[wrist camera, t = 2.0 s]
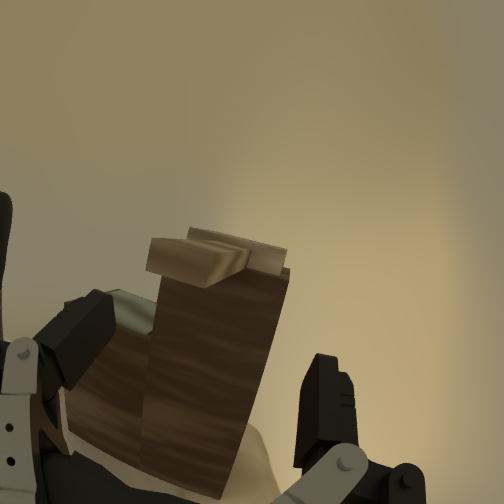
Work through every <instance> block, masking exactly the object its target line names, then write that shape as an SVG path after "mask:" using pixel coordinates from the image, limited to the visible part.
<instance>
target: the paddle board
mask: <svg viewBox="0 0 504 504" xmlns="http://www.w3.org/2000/svg"><path fill="white" fill-rule="evenodd" d="M286 252H287V249H284V248H280V247H276V246H272V245H268V244H264V243H260V242H256V241H252V240H248V239H244V238H240V237H235V236H231V235H227V234H223V233H219V232H215V231H209V230H204V229H198V228H192V227H190V228H189V231H188V235H187V239H185V240H184V239H165V238H152V240H151V244H150V249H149V254H148V259H147V264H146V271H149V272H152V273H155V274H159V275H162V276H165V277H168V278H171V279H175V280H178V281H181V282H184V283H188V284H191V285H194V286H198V287H201V288H206V287H208V286H211V285H213V284H215V283H217V282H219V281H221V280H223V279H225V278H227V277H229V276H231V275H233V274H235V273H237V272H239V271H241V270H243V269H245V268H250V269H254V270H258V271H262V272H266V273H270V274H273V275H277V276H280V273H281V271H282V269H283V265H284V261H285V257H286Z"/></svg>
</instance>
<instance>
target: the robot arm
mask: <svg viewBox="0 0 504 504" xmlns="http://www.w3.org/2000/svg"><path fill="white" fill-rule="evenodd" d="M12 211H13V208H12V201H11V198H10V196H9V195H8V194H6V193H4V192H1V191H0V504H199V503H196V502H192V501H189V500H186V499H182V498H179V497H176V496H173V495H170V494H167V493H160V492H153V491H147V490H141V489H136V488H131V487H129V486H128V485H126V484H125V483H123V482H122V481H121V480H119V479H118V478H117V477H116V476H114V475H113V474H112V473H110V472H109V471H108V470H107V469H106V468H104V467H103V466H102V465H100V464H98V463H96V462H94V461H92V460H91V459H89V458H87V457H85V456H83V455H82V454H80V453H78V452H77V451H74V453H73V454H72V456H71V455H69V450H68V447H67V444H66V442H65V439H64V437H63V432H62V424H61V414H60V401H59V392H58V390H59V389H60V387H61V386H62V387H64V388H65V389H67V390H69V391H71V390H72V389H73V388H74V386H75V385H76V384H77V382H78V381H79V380H80V378H81V377H82V376H83V374H84V373H85V372H86V371H87V369H88V368H89V367H90V365H91V364H92V363H93V361H94V360H95V359H96V358H97V356H98V355H99V354H100V353H101V351H102V350H103V349H104V347H105V346H106V345H107V344H108V342H109V341H110V340H111V339H112V337H113V336H114V333H115V330H116V318H115V310H114V301H113V297H112V295H111V294H108V293H105V292H102V291H100V290H97V289H94V290H92V291H91V292H90V293H89V294H88V295H87V296H85V297H81V298H78V299H76V300H74V301H72V302H70V303H69V304H68V305H67V306H66V307H65V308H64V309H63V311H61V312H59V313H58V314H57V317H54V318H53V319H52V320H51V321H50V322H49V323H48V324H47V325H46V326H45V327H44V328H43V329H42V330H41V331H40V332H39V333H38V334H36V335H35V336H34V337H33V338H32V339H31V338H27V337H22V338H18V339H16V340H14V341H13V342H11V343H10V342H6V341H3V328H2V279H3V274H4V269H5V262H6V254H7V246H8V240H9V235H10V229H11V223H12ZM299 400H300V401H299V413H298V424H297V435H296V446H295V456H294V465H293V467H294V468H302V476H301V478H300V479H299V480H298V481H297V482H296V483H295V484H293V485H292V486H291V487H290V488H289V489H287V491H285V492H284V493H283V494H281V495H280V496H279V497H278V498H277V499H275V500H274V501H273V502H272V503H270V504H426V491H425V479H424V475H423V473H422V471H421V470H420V469H419V468H418V467H417V466H416V465H413V464H410V463H403V464H400V465H398V466H396V467H395V468H390V467H387V466H384V465H381V464H377V463H375V462H372V461H370V460H369V459H368V458H367V456H366V454H365V453H364V451H363V450H362V449H361V448H359V444H358V431H357V418H356V409H355V398H354V386H353V383H352V381H351V380H350V377H349V376H348V374H347V373H346V372H339V370H338V359H337V357H335V356H329V355H324V354H319V353H317V354H316V355H315V357H314V359H313V361H312V363H311V365H310V367H309V370H308V371H307V373H306V375H305V378H304V380H303V382H302V386H301V390H300V399H299Z"/></svg>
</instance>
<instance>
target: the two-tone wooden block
mask: <svg viewBox="0 0 504 504" xmlns="http://www.w3.org/2000/svg"><path fill="white" fill-rule="evenodd" d="M289 277H290V269H288V268H284V267H283V269H282V271H281V273H280V276H277V275H273V274H270V273H266V272H262V271H258V270H254V269H250V268H245V269H243V270H241V271H239V272H237V273H235V274H233V275H231V276H229V277H227V278H225V279H223V280H221V281H219V282H217V283H215V284H213V285H211V286H208V287H206V288H201V287H198V286H194V285H191V284H188V283H184V282H181V281H178V280H175V279H171V278H168V277H165V276H162V278H161V283H160V288H159V293H158V299H157V303H156V302H153V301H150V300H147V299H144V298H142V297H139V296H136V295H133V294H131V293H128V292H125V291H123V290H120V289H116V290H112V291H108V292H105V293H108V294H111V295H112V297H113V301H114V310H115V318H116V330H115V333H114V336H113V337H112V339H111V340H110V341H109V342H108V344H107V345H106V346H105V347H104V349H103V350H102V351H101V353H100V354H99V355H98V356H97V358H96V359H95V360H94V361H93V363H92V364H91V365H90V367H89V368H88V369H87V371H86V372H85V373H84V374H83V376H82V377H81V378H80V380H79V381H78V382H77V384H76V385H75V386H74V388H73V389H72V390H71V391H69V390H67V389H65V388H64V391H65V403H66V413H67V421H68V429H69V430H70V431H71V432H73V433H74V434H76V435H77V436H79V437H80V438H82V439H83V440H85V441H87V442H88V443H90V444H92V445H93V446H95V447H97V448H98V449H100V450H102V451H104V452H105V453H107V454H109V455H111V456H113V457H114V458H116V459H118V460H120V461H122V462H124V463H126V464H128V465H130V466H132V467H134V468H136V469H138V470H141V471H143V472H145V473H147V474H149V475H152V476H154V477H156V478H159V479H161V480H163V481H166V482H168V483H171V484H174V485H176V486H179V487H182V488H184V489H187V490H190V491H193V492H196V493H199V494H202V495H205V496H209V497H212V498H215V499H219V500H220V499H221V496H222V493H223V491H224V488H225V485H226V483H227V480H228V477H229V474H230V472H231V469H232V466H233V463H234V460H235V458H236V455H237V452H238V449H239V446H240V443H241V440H242V437H243V434H244V431H245V428H246V425H247V422H248V419H249V416H250V413H251V410H252V407H253V404H254V401H255V397H256V394H257V391H258V388H259V385H260V381H261V378H262V375H263V372H264V368H265V365H266V362H267V358H268V355H269V351H270V348H271V345H272V341H273V338H274V334H275V331H276V327H277V324H278V320H279V317H280V313H281V309H282V306H283V302H284V299H285V295H286V291H287V287H288V283H289ZM72 301H74V300H72ZM72 301H68V302H65V303H64V308H65V307H66V306H67V305H68V304H69V303H70V302H72Z"/></svg>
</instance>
